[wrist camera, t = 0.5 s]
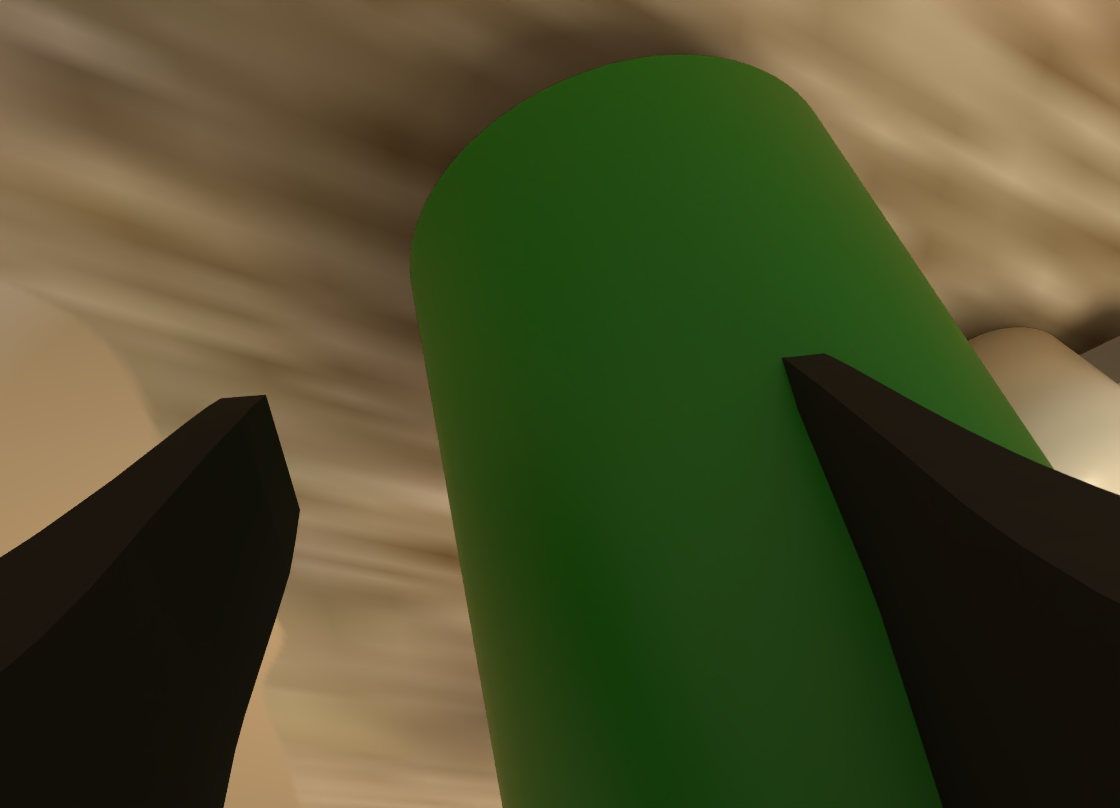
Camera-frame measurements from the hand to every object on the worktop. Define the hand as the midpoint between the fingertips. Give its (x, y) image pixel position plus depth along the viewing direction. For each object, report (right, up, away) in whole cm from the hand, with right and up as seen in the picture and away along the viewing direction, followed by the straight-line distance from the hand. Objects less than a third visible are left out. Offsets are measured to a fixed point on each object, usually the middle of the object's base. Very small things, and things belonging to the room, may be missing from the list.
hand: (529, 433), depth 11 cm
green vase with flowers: (+2, +5, +7) cm, 9 cm away
